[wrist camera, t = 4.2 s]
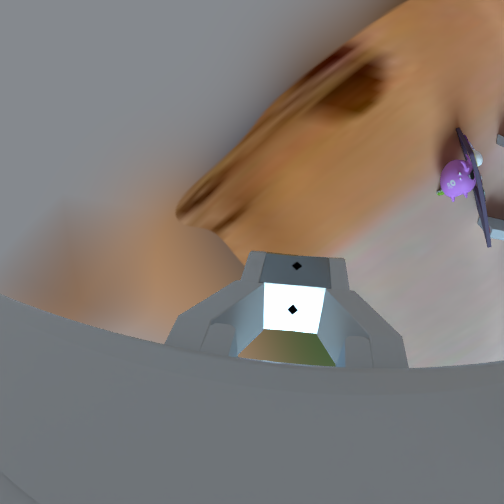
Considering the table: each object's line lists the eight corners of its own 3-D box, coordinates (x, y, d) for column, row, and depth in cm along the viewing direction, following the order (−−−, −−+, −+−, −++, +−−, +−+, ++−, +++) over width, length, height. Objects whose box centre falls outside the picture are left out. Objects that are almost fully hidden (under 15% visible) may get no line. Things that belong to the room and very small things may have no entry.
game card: (498, 246, 18) (481, 149, 15) (448, 256, 22) (422, 166, 18) (486, 206, 22) (465, 124, 19) (444, 216, 26) (418, 138, 22)
